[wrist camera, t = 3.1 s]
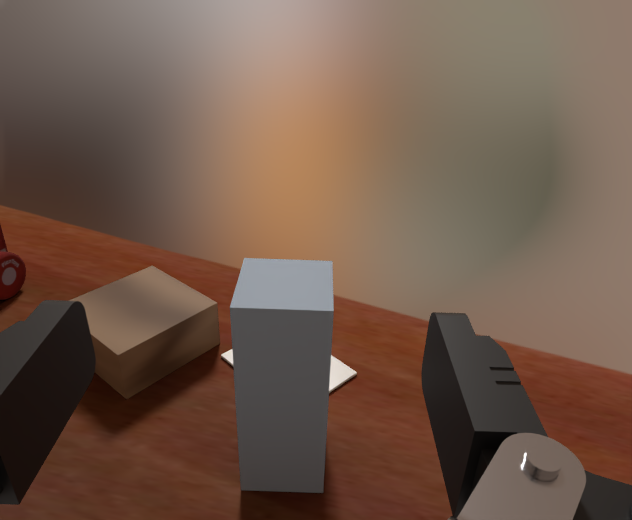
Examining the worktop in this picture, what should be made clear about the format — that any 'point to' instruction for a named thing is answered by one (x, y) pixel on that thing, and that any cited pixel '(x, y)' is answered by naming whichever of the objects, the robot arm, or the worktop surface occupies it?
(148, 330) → the base block
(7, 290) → the toy fire truck
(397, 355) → the worktop surface
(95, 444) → the worktop surface
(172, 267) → the worktop surface
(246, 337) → the pillar
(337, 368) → the page
